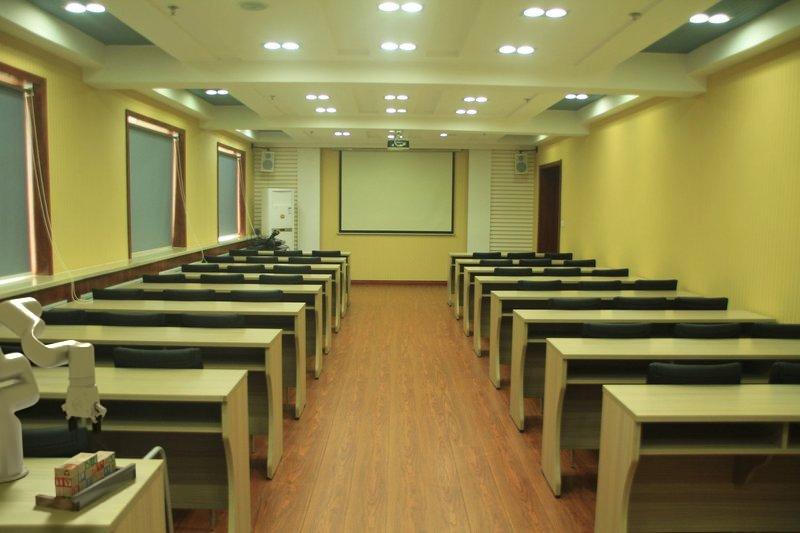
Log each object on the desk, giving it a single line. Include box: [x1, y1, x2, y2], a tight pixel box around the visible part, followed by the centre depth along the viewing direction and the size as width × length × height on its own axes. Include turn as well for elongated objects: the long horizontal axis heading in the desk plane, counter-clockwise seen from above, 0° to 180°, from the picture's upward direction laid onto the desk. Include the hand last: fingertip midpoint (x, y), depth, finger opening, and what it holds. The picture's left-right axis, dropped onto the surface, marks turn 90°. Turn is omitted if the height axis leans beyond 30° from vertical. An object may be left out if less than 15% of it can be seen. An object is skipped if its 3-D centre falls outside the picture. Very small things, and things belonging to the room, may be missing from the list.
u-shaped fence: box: [34, 462, 137, 513], centre depth 202 cm, size 16×26×5 cm, turn 163°
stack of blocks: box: [53, 450, 117, 500], centre depth 202 cm, size 21×6×12 cm, turn 169°
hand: (84, 431), depth 201 cm, fingers open, 9 cm apart
